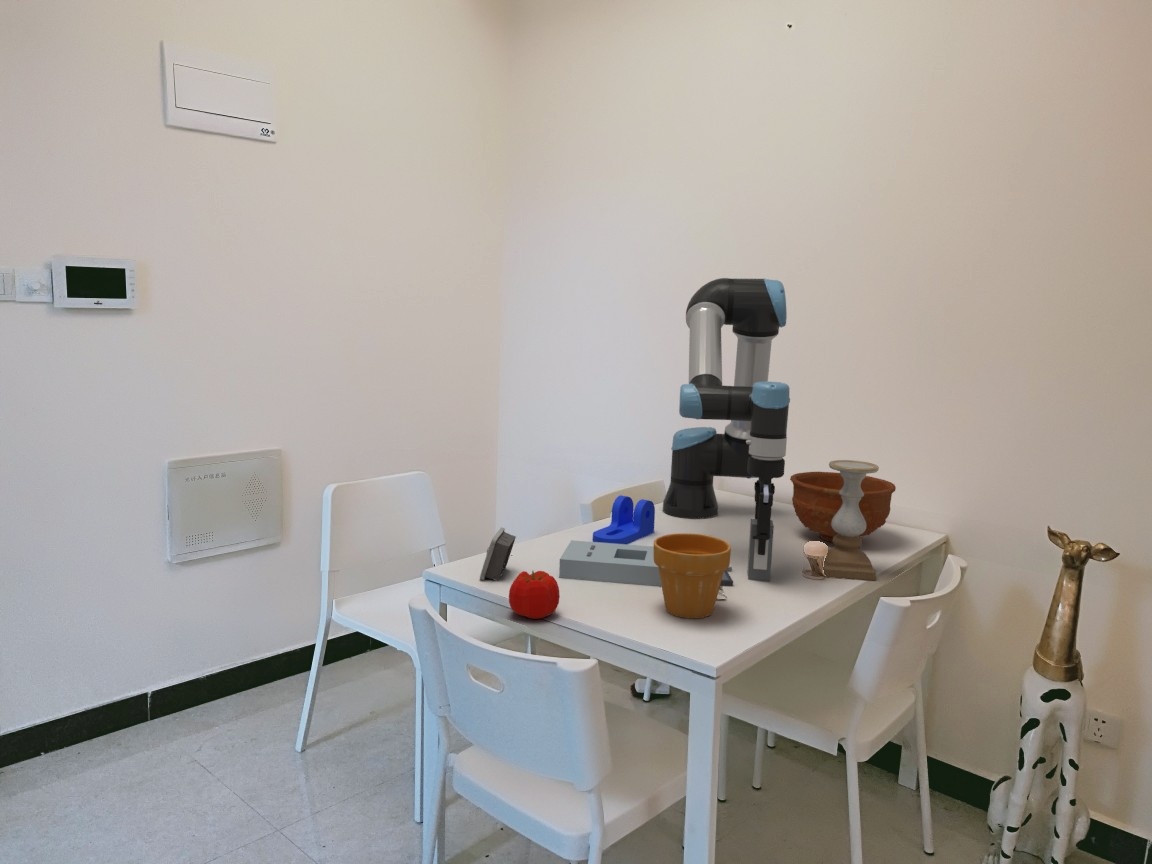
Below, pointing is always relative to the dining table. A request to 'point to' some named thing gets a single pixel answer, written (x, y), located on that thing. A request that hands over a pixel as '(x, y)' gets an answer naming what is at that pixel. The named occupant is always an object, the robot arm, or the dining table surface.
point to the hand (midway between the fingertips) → (759, 564)
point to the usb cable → (729, 569)
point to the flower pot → (691, 572)
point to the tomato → (534, 594)
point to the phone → (726, 579)
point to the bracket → (627, 522)
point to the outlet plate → (609, 563)
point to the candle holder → (849, 525)
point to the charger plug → (753, 573)
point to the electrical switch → (497, 555)
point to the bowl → (838, 501)
